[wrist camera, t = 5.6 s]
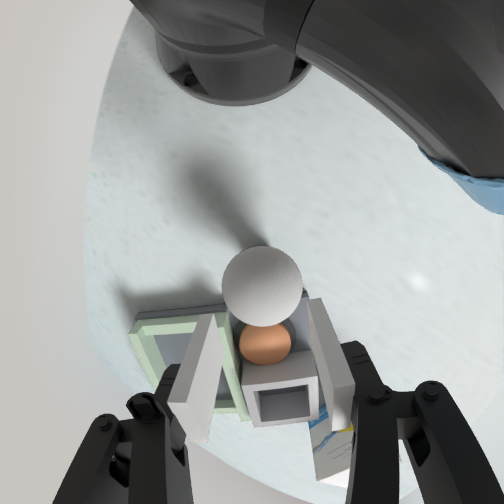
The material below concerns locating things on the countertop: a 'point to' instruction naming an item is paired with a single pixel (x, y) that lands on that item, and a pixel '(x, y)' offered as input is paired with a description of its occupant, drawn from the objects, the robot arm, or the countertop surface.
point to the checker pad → (265, 343)
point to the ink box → (331, 450)
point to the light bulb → (262, 286)
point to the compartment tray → (237, 364)
